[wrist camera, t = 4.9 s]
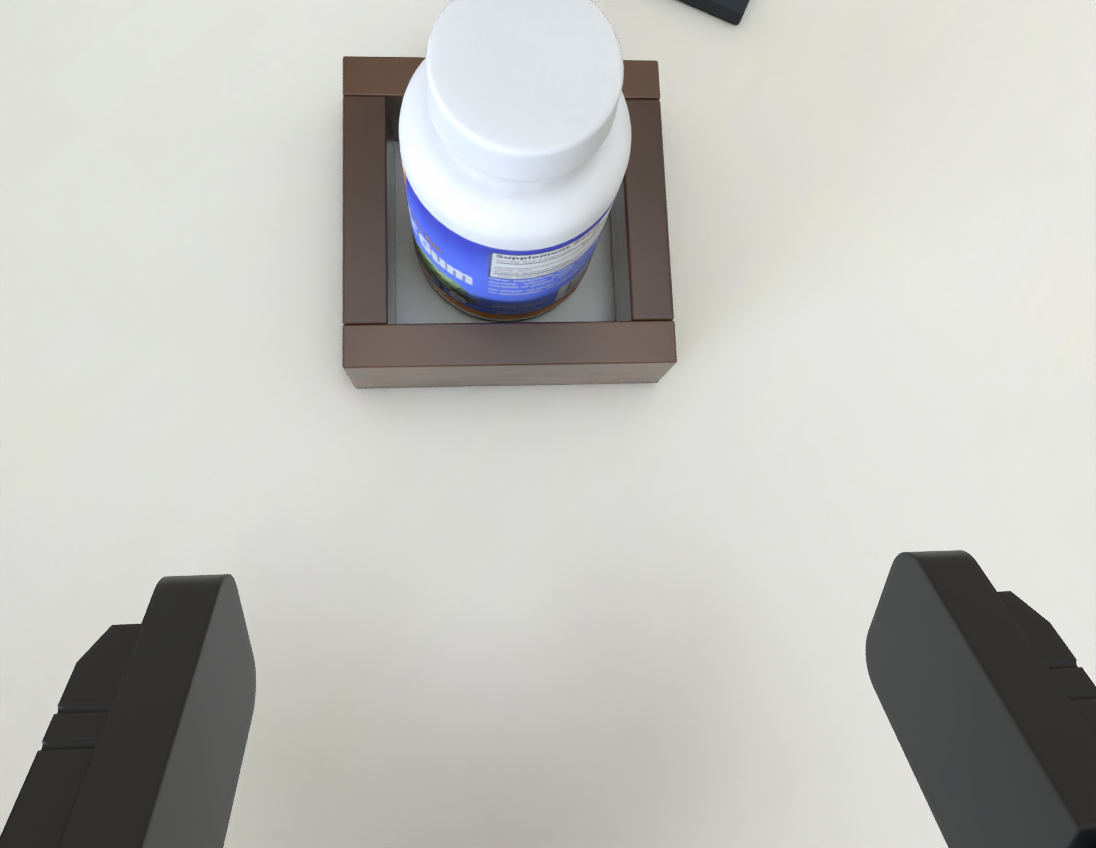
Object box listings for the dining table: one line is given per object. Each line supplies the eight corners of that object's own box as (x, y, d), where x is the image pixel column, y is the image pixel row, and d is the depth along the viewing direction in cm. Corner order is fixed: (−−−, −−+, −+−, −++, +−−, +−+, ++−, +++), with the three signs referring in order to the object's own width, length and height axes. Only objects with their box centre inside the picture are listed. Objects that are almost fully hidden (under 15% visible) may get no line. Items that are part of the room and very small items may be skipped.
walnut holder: (354, 388, 26) (342, 368, 23) (354, 103, 27) (342, 55, 25) (658, 382, 27) (677, 362, 24) (641, 106, 28) (658, 59, 26)
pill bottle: (389, 190, 27) (344, -22, 17) (553, 136, 28) (596, -95, 18) (452, 352, 26) (440, 224, 17) (618, 292, 27) (698, 138, 17)
